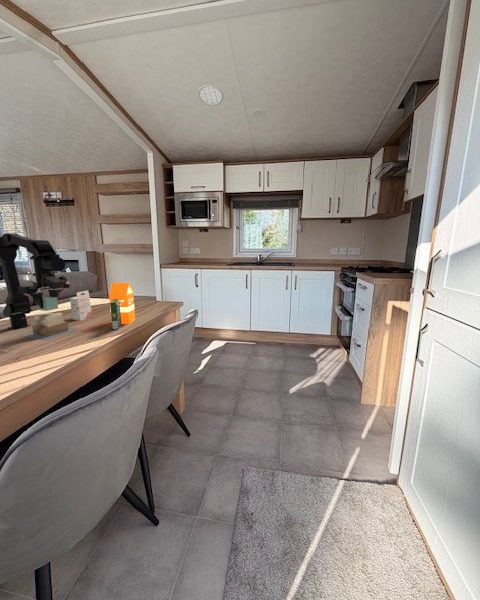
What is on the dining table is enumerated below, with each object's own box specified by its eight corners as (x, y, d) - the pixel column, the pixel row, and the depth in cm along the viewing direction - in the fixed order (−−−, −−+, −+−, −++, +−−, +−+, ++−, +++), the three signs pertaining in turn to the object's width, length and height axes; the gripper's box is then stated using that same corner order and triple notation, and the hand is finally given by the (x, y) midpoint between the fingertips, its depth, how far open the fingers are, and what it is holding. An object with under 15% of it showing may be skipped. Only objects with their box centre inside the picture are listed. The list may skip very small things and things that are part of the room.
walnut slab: (33, 334, 114) (32, 325, 114) (53, 328, 123) (52, 320, 122) (49, 336, 112) (47, 327, 111) (68, 330, 120) (67, 321, 119)
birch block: (36, 325, 114) (34, 316, 114) (51, 321, 121) (50, 312, 120) (48, 326, 112) (46, 317, 112) (63, 322, 119) (62, 313, 118)
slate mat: (19, 337, 112) (18, 336, 112) (55, 326, 127) (55, 325, 127) (47, 341, 108) (46, 340, 107) (81, 329, 123) (81, 328, 122)
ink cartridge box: (84, 316, 147) (81, 289, 144) (92, 316, 146) (89, 290, 143) (71, 320, 139) (68, 292, 136) (80, 320, 138) (76, 292, 135)
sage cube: (38, 310, 114) (36, 298, 113) (49, 307, 119) (48, 296, 118) (47, 310, 112) (45, 299, 111) (58, 308, 117) (56, 297, 116)
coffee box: (118, 329, 123) (116, 301, 120) (112, 330, 122) (109, 302, 119) (122, 325, 130) (119, 298, 128) (115, 325, 130) (113, 298, 127)
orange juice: (129, 324, 132) (125, 283, 128) (111, 324, 132) (107, 283, 128) (135, 320, 139) (132, 281, 136) (118, 319, 140) (115, 281, 136)
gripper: (34, 273, 101) (40, 313, 104) (77, 269, 119) (81, 303, 122) (13, 272, 105) (19, 311, 107) (58, 268, 122) (62, 302, 125)
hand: (48, 306), depth 115 cm, fingers closed on sage cube, 5 cm apart
